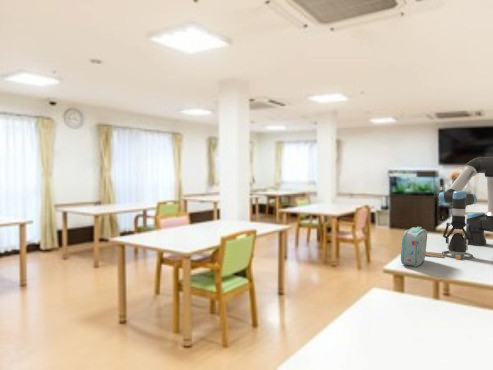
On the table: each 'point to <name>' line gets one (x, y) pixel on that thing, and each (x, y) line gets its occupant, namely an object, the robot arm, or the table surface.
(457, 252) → the black rounded piece
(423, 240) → the lunch box
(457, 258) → the collar
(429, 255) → the coaster
